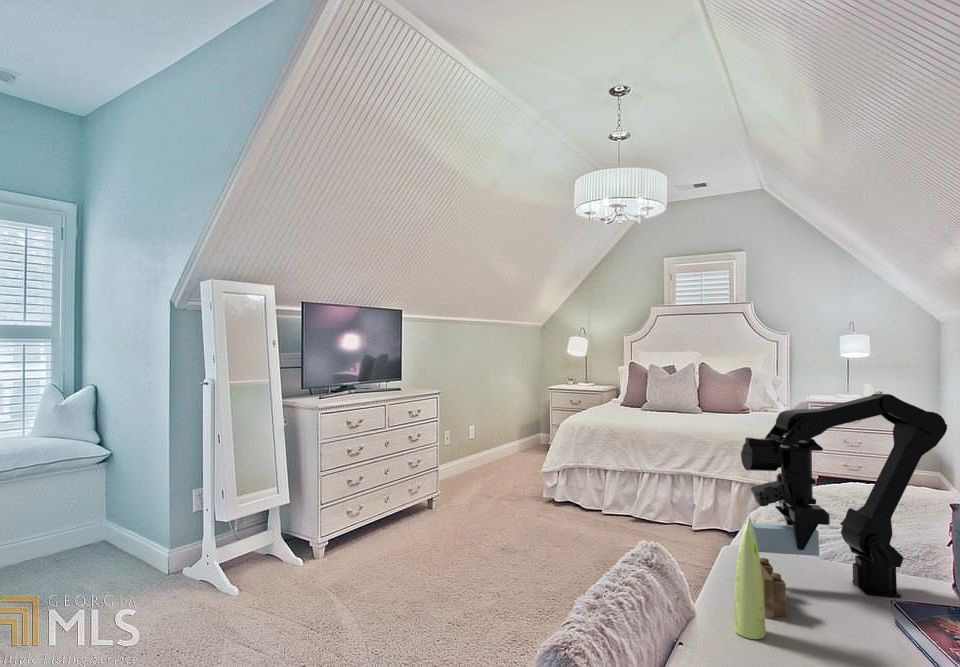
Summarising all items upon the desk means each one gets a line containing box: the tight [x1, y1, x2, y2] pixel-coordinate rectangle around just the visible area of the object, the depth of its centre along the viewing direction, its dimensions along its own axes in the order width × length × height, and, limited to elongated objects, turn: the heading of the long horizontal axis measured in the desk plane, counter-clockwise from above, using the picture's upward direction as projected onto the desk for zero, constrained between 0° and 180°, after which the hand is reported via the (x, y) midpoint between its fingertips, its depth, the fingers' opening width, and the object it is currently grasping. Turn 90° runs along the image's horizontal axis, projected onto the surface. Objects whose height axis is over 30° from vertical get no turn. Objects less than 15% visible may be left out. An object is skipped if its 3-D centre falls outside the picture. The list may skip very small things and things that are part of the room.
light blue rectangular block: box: [744, 521, 820, 557], centre depth 116 cm, size 13×3×5 cm, turn 77°
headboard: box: [759, 557, 787, 620], centre depth 108 cm, size 4×14×7 cm, turn 167°
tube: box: [733, 513, 766, 640], centre depth 96 cm, size 6×5×20 cm
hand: (797, 546), depth 116 cm, fingers closed on light blue rectangular block, 3 cm apart
